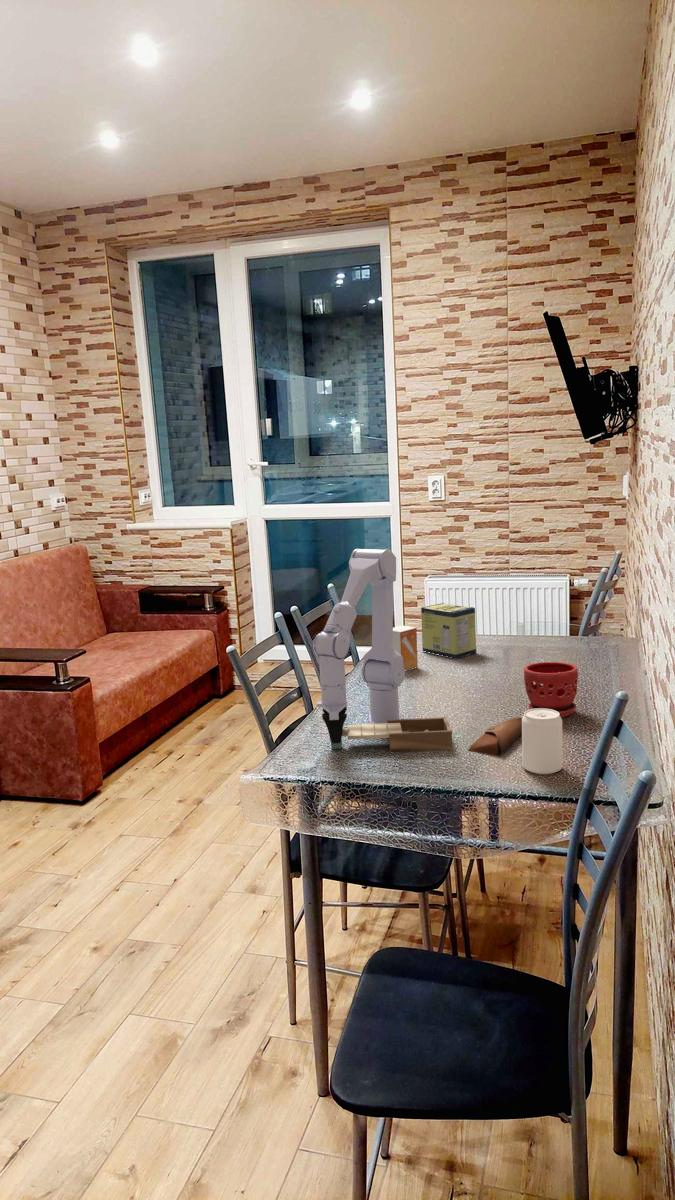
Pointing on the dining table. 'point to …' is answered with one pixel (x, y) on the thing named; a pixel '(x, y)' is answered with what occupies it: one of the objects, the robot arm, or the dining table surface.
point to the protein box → (448, 630)
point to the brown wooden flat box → (421, 735)
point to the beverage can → (542, 741)
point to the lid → (368, 732)
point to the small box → (406, 645)
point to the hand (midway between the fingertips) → (336, 740)
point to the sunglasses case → (498, 737)
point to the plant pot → (552, 686)
